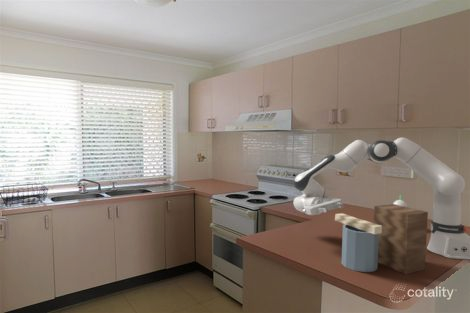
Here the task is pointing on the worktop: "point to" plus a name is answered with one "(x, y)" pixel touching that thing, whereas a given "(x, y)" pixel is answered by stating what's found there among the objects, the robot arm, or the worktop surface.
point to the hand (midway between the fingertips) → (334, 208)
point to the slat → (359, 223)
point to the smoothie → (400, 202)
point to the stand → (401, 237)
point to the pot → (359, 249)
